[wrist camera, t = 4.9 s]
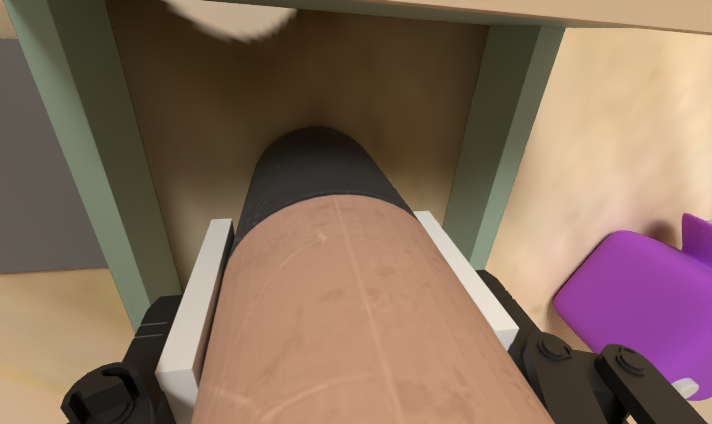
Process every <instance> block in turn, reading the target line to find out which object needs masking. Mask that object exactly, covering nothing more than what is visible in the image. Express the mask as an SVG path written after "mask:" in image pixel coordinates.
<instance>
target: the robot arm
mask: <svg viewBox="0 0 712 424" xmlns="http://www.w3.org/2000/svg"><path fill="white" fill-rule="evenodd" d="M413 213H414V215H415V216H416V217H417V219H418V220H419V221H420V223H421V224H422V226H423V227H424V228H425V229H426V231H427V232H428V234H429V235H430V237H431V238H432V240H433V241H434V243H435V244H436V246H437V247H438V249H439V250H440V252H441V253H442V255H443V256H444V258H445V259H446V261H447V262H448V264H449V265H450V267H451V268H452V270H453V271H454V273H455V274H456V276H457V277H458V279H459V280H460V282H461V283H462V285H463V286H464V288H465V289H466V291H467V292H468V294H469V295H470V297H471V298H472V300H473V301H474V303H475V304H476V306H477V307H478V309H479V310H480V312H481V313H482V315H483V316H484V318H485V319H486V321H487V322H488V324H489V325H490V327H491V328H492V330H493V331H494V333H495V334H496V336H497V337H498V339H499V340H500V342H501V343H502V345H503V346H504V348H505V349H506V351H507V352H508V354H509V355H510V357H511V358H512V360H513V361H514V363H515V364H516V366H517V367H518V369H519V370H520V372H521V373H522V375H523V376H524V378H525V379H526V381H527V382H528V384H529V385H530V387H531V388H532V390H533V391H534V393H535V394H536V396H537V397H538V399H539V400H540V402H541V403H542V405H543V406H544V408H545V409H546V411H547V412H548V414H549V415H550V417H551V418H552V420H553V421H554V423H555V424H629V423H628V422H627V420H626V419H627V418H628V417H629V416H630V415H631V416H632V417H633V419H634V420H635V421H636V422H637V424H708V423H707V422H706V421H705V420H704V419H703V418H702V417H701V416H700V415H699V414H698V413H697V412H696V410H695V409H694V408H693V407H692V406H691V405H690V404H689V403H688V402H687V401H686V400H685V399H684V397H683V396H682V395H681V394H680V393H679V392H678V391H677V390H676V389H675V388H674V387H673V386H672V385H671V383H670V382H669V381H668V380H667V379H666V378H665V377H664V376H663V375H662V374H661V373H660V372H659V371H658V369H657V368H656V367H655V366H654V365H653V364H652V363H651V362H650V361H649V360H647V359H646V358H645V357H644V356H643V355H641V354H640V353H638V352H636V351H635V350H633V349H631V348H628V347H626V346H623V345H619V344H608V345H606V346H605V347H604V348H603V350H602V351H601V353H600V354H596V353H590V352H584V351H578V350H573V349H572V348H571V347H570V346H569V345H568V344H567V343H565V342H564V341H563V340H561V339H560V338H558V337H556V336H554V335H552V334H549V333H546V332H541V331H540V330H539V328H538V327H537V326H536V325H535V324H534V322H533V321H532V320H531V319H530V318H529V316H528V315H527V314H526V313H525V312H524V310H523V309H522V308H521V307H520V306H519V304H518V303H517V302H516V301H515V300H514V299H512V296H511V295H510V294H509V292H508V291H506V290H505V288H504V286H503V285H502V284H501V283H500V282H499V280H498V279H497V278H496V277H494V276H493V275H491V274H490V273H488V272H487V271H486V270H474V269H473V268H472V266H471V265H470V264H469V262H468V261H467V260H466V259H465V257H464V256H463V255H462V253H461V252H460V251H459V250H458V248H457V247H456V246H455V244H454V243H453V242H452V240H451V239H450V238H449V237H448V235H447V234H446V233H445V231H444V230H443V229H442V227H441V226H440V225H439V224H438V222H437V221H436V220H435V218H434V217H433V216H432V214H431V213H430V212H429V211H415V212H413ZM234 238H235V236H234V229H233V222H232V219H212V220H211V223H210V225H209V228H208V231H207V233H206V236H205V239H204V241H203V244H202V247H201V250H200V252H199V255H198V258H197V260H196V263H195V266H194V268H193V271H192V274H191V277H190V279H189V282H188V285H187V287H186V290H185V293H184V295H172V296H160V297H159V298H158V299H157V300H156V301H155V302H154V303H153V304H152V305H151V306H150V307H149V308H148V309H147V311H146V313H145V315H144V317H143V319H142V321H141V324H140V327H139V328H138V330H137V332H136V334H135V338H134V339H133V340H132V342H131V344H130V346H129V349H128V351H127V353H126V355H125V357H124V359H123V361H122V363H121V362H115V363H111V364H107V365H103V366H101V367H99V368H97V369H95V370H93V371H91V372H89V373H87V374H86V375H85V376H83V377H82V378H81V379H80V380H78V381H77V382H76V383H75V384H74V385H73V386H72V387H71V389H70V390H69V391H68V392H67V394H66V395H65V397H64V399H63V402H62V405H61V409H62V411H63V412H64V414H65V415H66V417H67V418H68V420H69V421H70V422H69V423H67V424H191V420H192V416H193V411H194V407H195V402H196V398H197V394H198V389H199V385H200V380H201V376H202V371H203V367H204V362H205V358H206V353H207V349H208V344H209V340H210V335H211V331H212V326H213V322H214V317H215V313H216V308H217V304H218V299H219V295H220V290H221V286H222V282H223V277H224V273H225V270H226V266H227V262H228V258H229V255H230V251H231V248H232V244H233V241H234Z"/></svg>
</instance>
